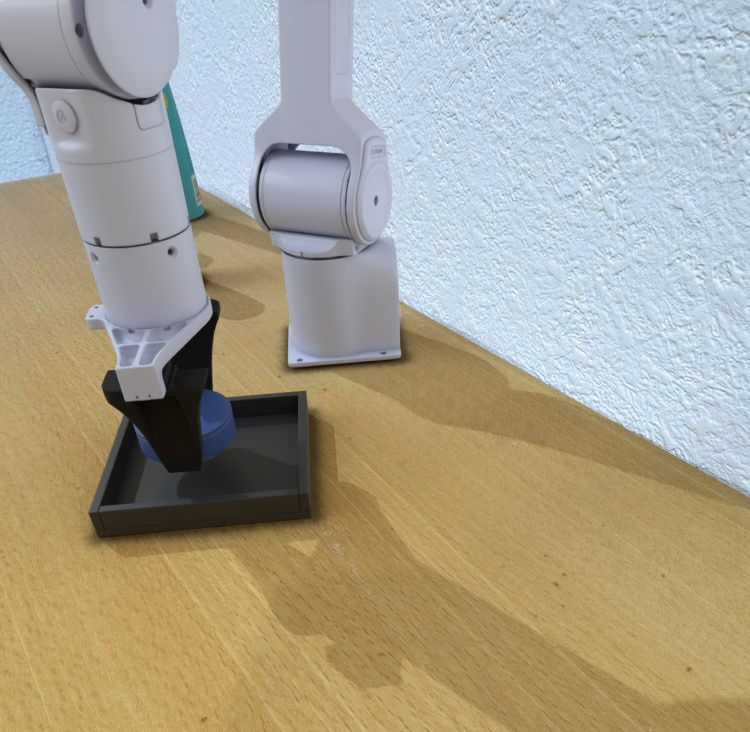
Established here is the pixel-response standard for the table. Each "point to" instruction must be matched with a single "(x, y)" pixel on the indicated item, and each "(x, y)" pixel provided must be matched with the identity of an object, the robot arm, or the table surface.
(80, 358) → the table surface
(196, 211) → the tube
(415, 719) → the table surface
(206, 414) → the lid
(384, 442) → the table surface
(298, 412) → the tray
